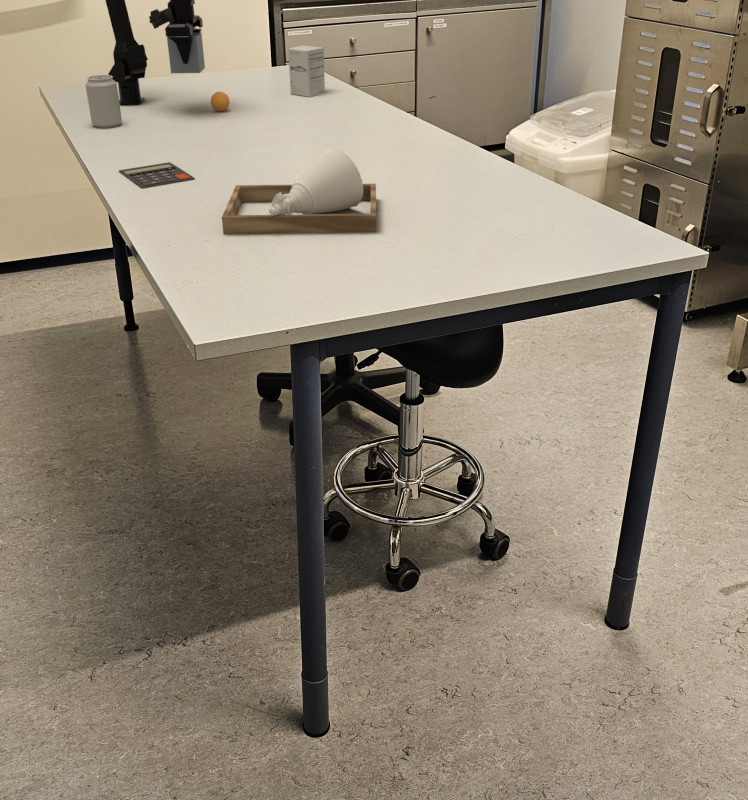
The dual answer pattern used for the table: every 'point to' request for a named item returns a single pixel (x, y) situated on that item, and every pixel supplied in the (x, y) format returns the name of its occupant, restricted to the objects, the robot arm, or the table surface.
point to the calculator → (156, 175)
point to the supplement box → (306, 70)
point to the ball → (220, 101)
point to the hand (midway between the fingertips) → (188, 61)
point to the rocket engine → (323, 187)
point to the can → (103, 101)
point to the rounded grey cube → (195, 57)
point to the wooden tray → (292, 222)
